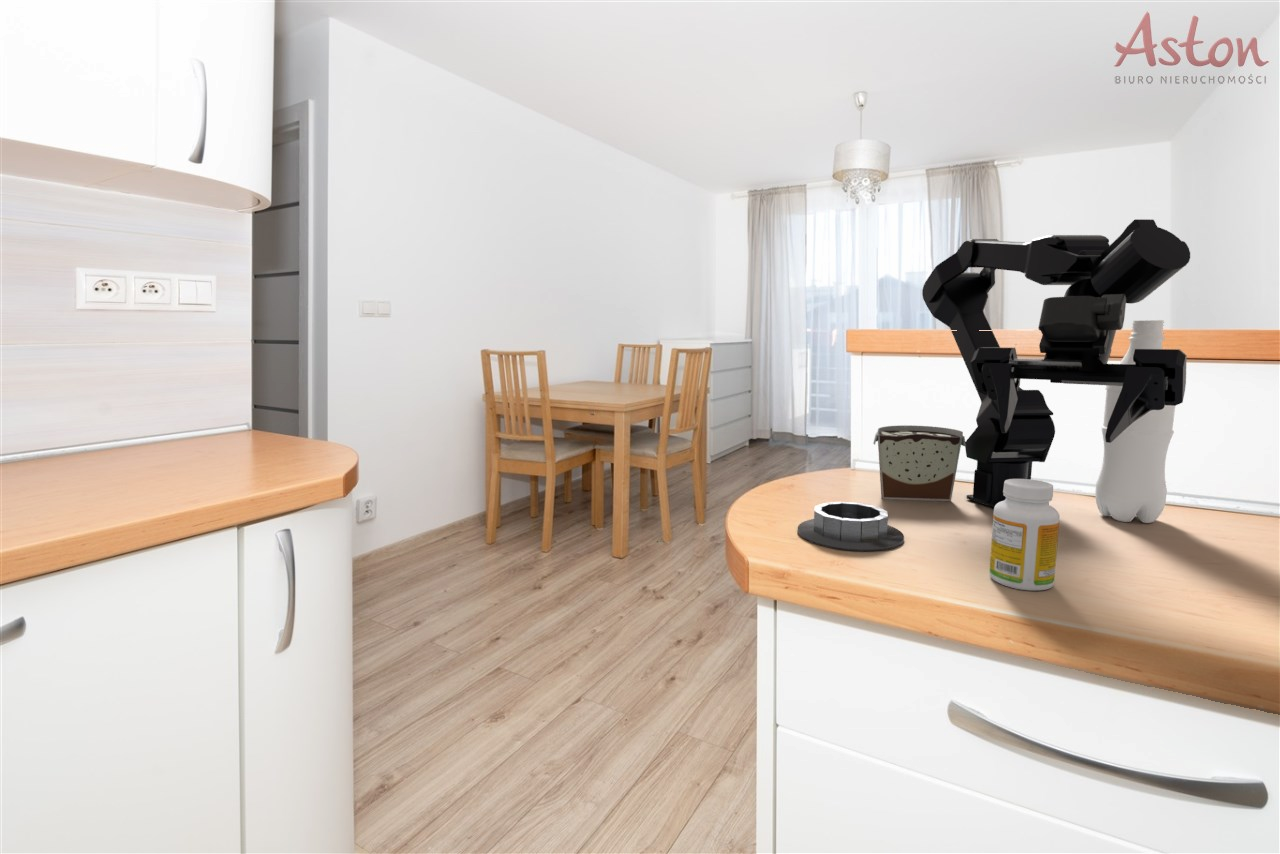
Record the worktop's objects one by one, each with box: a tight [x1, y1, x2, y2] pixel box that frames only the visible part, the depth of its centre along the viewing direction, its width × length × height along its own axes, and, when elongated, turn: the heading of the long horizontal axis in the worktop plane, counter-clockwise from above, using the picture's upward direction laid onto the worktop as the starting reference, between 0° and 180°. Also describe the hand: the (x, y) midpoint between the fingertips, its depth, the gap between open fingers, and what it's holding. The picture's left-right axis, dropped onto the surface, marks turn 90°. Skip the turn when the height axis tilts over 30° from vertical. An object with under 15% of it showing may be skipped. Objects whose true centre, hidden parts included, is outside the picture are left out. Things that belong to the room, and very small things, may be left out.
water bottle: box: [1094, 319, 1176, 524], centre depth 80 cm, size 7×7×25 cm
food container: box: [872, 424, 966, 502], centre depth 94 cm, size 12×6×10 cm, turn 81°
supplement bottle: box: [989, 478, 1060, 592], centre depth 61 cm, size 5×5×10 cm
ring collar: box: [797, 501, 905, 552], centre depth 76 cm, size 12×12×3 cm
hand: (1052, 434), depth 65 cm, fingers open, 9 cm apart
